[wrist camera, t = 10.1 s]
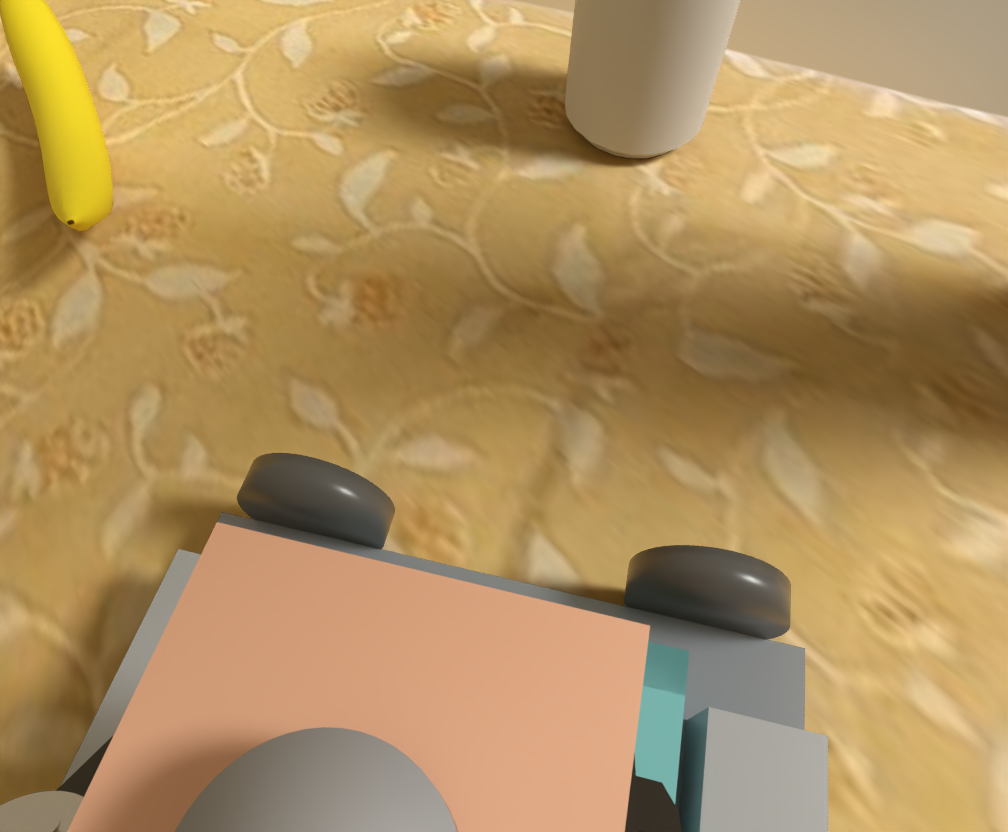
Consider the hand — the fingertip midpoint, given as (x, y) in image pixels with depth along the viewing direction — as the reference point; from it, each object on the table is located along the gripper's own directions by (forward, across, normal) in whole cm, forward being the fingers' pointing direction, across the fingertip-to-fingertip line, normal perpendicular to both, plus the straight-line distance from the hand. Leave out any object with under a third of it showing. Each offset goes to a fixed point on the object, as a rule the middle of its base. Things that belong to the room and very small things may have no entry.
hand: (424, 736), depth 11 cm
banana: (+24, +25, -7) cm, 36 cm away
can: (+32, -1, -15) cm, 35 cm away
